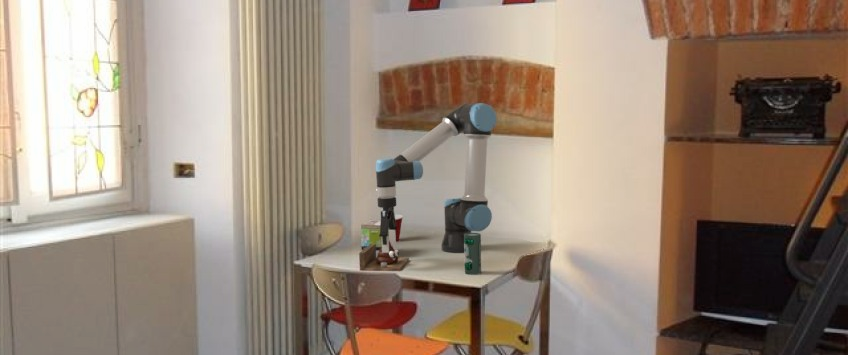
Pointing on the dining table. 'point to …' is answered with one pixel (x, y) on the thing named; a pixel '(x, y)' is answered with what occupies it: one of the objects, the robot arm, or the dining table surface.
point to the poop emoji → (387, 256)
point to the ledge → (370, 264)
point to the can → (472, 253)
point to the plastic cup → (398, 226)
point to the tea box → (371, 234)
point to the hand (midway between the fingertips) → (389, 248)
